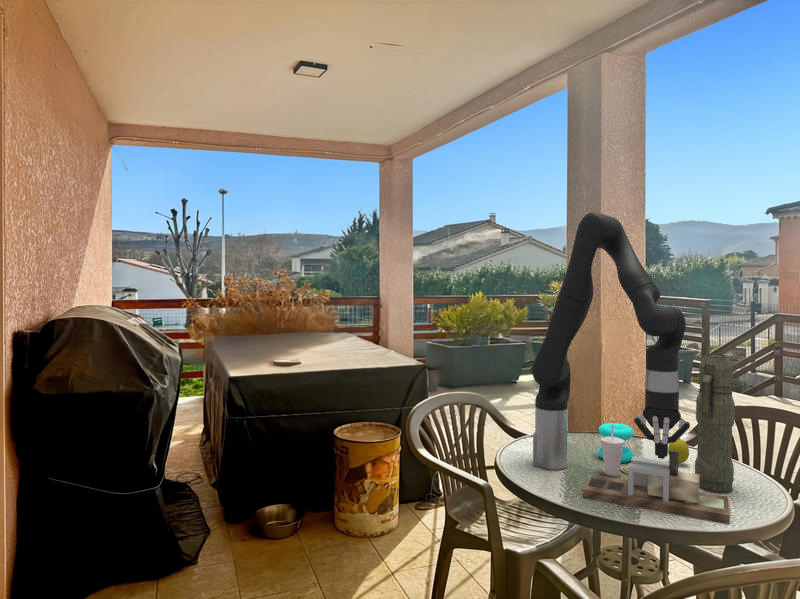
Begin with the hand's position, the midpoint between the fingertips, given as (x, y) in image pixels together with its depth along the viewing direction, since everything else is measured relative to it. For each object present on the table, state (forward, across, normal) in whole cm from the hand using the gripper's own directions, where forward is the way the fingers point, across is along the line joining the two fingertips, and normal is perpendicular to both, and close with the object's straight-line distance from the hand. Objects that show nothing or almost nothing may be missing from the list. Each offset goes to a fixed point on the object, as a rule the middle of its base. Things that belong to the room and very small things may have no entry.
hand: (661, 457), depth 136 cm
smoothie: (+11, +14, -15) cm, 23 cm away
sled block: (+9, -3, 0) cm, 9 cm away
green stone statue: (+11, -11, -17) cm, 24 cm away
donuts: (+11, +15, -29) cm, 34 cm away
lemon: (+11, -2, -32) cm, 34 cm away
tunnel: (+9, +2, 0) cm, 10 cm away
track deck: (+11, +2, 0) cm, 11 cm away
